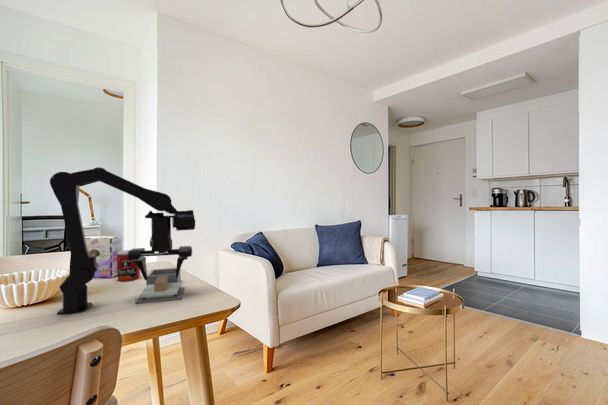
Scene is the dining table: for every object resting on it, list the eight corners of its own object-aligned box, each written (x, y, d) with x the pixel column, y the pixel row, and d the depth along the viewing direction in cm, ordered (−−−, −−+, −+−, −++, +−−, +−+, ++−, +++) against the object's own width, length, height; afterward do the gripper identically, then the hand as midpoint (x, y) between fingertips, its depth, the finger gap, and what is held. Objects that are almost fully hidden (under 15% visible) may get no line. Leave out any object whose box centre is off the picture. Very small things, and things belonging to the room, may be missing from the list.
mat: (181, 299, 93) (181, 297, 93) (135, 304, 90) (135, 302, 90) (184, 288, 105) (184, 286, 105) (143, 292, 101) (143, 290, 101)
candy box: (121, 274, 124) (121, 235, 124) (111, 278, 118) (110, 237, 118) (91, 274, 125) (90, 235, 125) (79, 277, 120) (79, 237, 119)
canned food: (114, 282, 113) (113, 253, 113) (121, 277, 121) (120, 250, 120) (136, 280, 115) (136, 252, 115) (142, 275, 123) (141, 249, 122)
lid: (177, 297, 94) (177, 281, 94) (140, 300, 91) (140, 284, 91) (180, 287, 104) (180, 273, 104) (147, 290, 101) (147, 276, 101)
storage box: (177, 288, 106) (177, 274, 105) (146, 290, 103) (146, 276, 102) (180, 280, 115) (180, 267, 115) (152, 282, 112) (151, 269, 112)
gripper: (193, 228, 107) (193, 271, 108) (135, 229, 102) (135, 275, 102) (190, 231, 97) (191, 279, 97) (126, 233, 91) (127, 283, 91)
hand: (161, 278), depth 97 cm, fingers open, 9 cm apart
